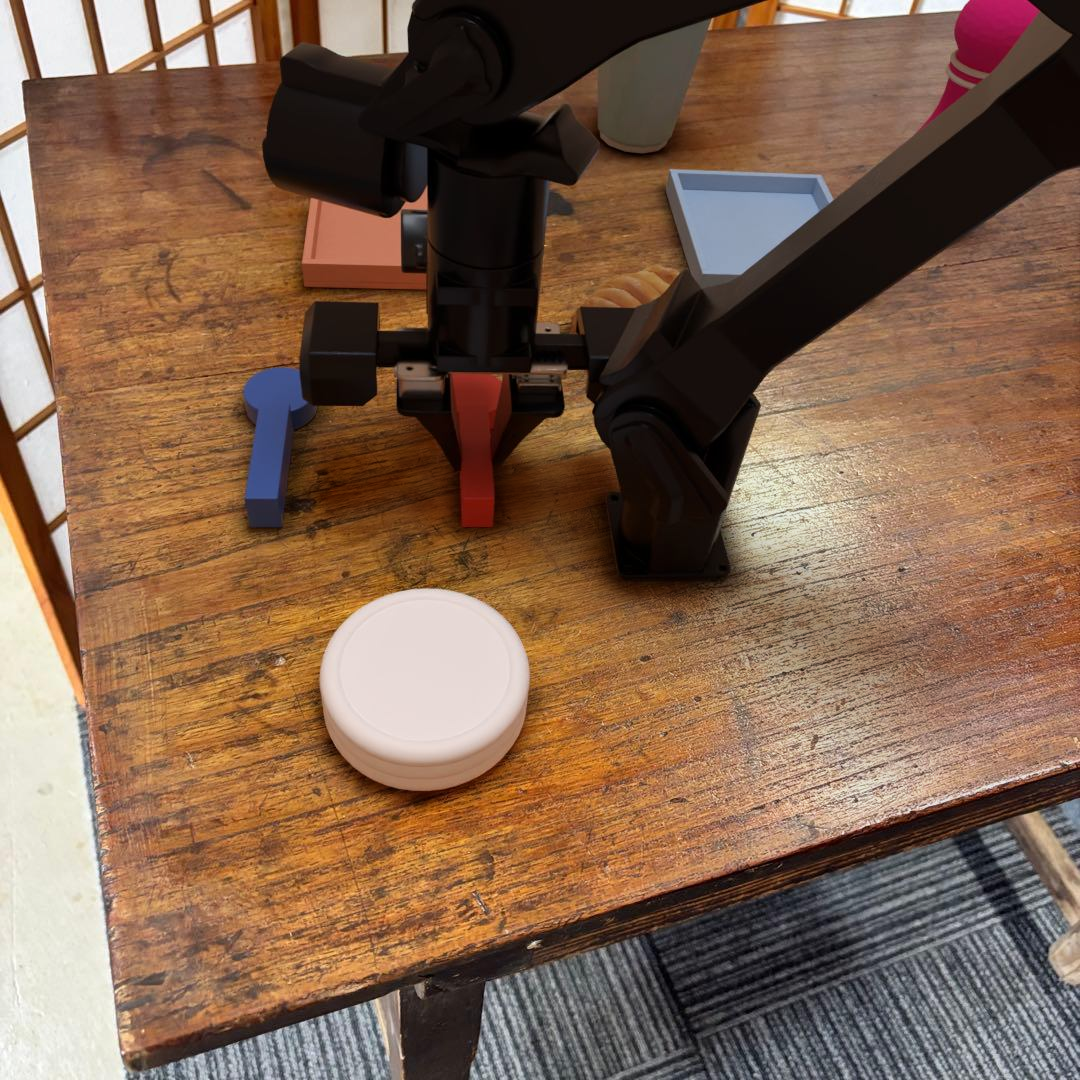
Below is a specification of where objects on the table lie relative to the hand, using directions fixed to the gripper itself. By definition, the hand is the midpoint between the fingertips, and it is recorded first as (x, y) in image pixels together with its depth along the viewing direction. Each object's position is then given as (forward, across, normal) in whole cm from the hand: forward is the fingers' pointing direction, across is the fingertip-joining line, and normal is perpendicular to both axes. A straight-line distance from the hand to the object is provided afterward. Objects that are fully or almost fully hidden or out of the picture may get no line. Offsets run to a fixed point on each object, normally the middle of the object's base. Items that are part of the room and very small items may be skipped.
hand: (475, 466), depth 61 cm
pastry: (+1, -12, -15) cm, 19 cm away
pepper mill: (+1, -39, -31) cm, 50 cm away
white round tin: (+1, +3, +16) cm, 16 cm away
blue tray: (+1, -24, -27) cm, 36 cm away
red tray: (+1, +5, -27) cm, 27 cm away
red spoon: (+1, 0, -2) cm, 2 cm away
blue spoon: (+1, +12, -2) cm, 12 cm away
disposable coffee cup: (+1, -16, -44) cm, 47 cm away
